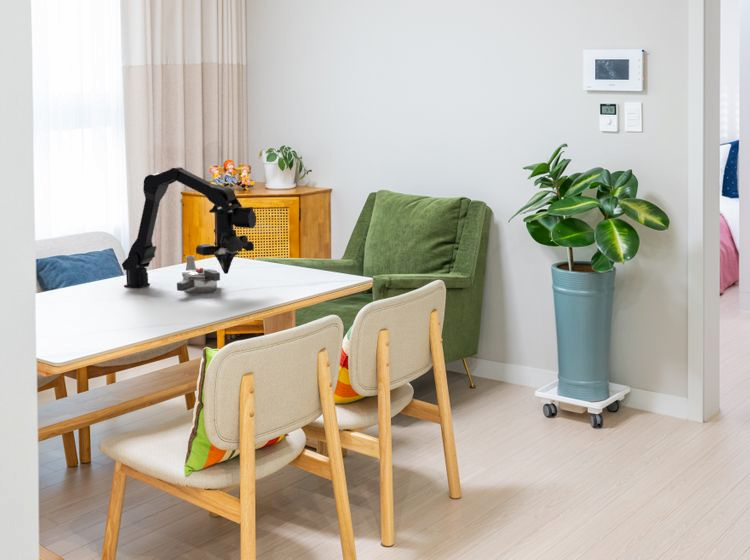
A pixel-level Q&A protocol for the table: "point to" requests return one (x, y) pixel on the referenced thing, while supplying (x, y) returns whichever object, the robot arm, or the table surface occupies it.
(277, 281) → the table surface
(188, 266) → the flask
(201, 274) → the lid
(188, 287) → the pot
